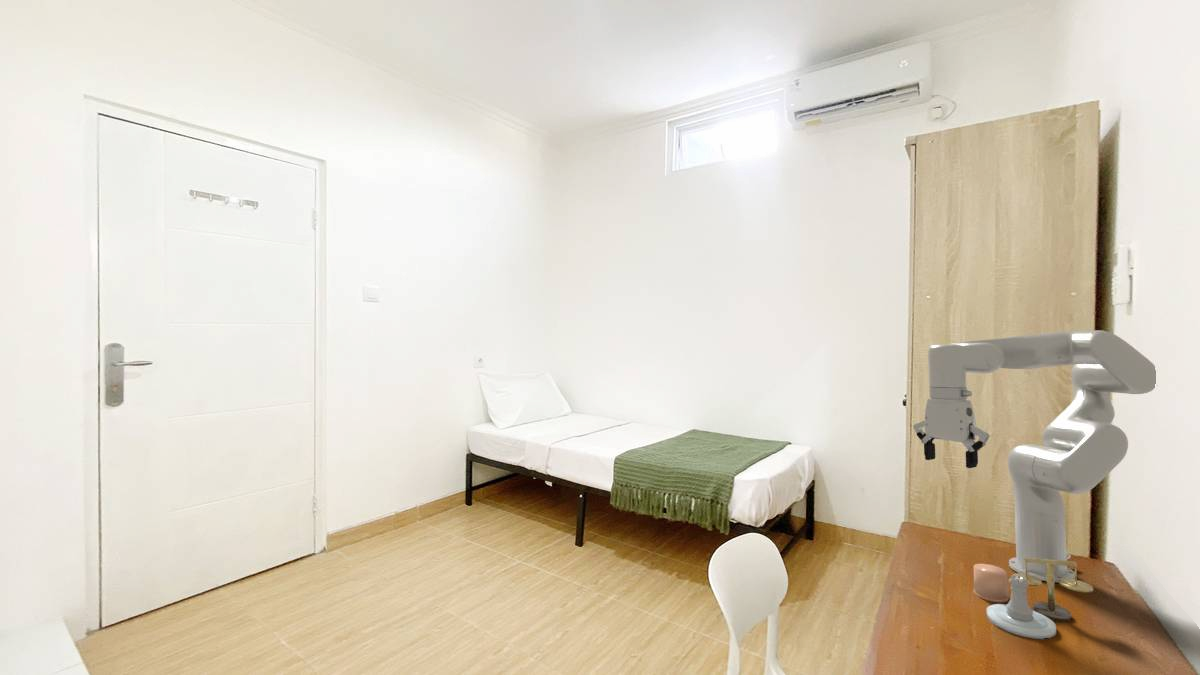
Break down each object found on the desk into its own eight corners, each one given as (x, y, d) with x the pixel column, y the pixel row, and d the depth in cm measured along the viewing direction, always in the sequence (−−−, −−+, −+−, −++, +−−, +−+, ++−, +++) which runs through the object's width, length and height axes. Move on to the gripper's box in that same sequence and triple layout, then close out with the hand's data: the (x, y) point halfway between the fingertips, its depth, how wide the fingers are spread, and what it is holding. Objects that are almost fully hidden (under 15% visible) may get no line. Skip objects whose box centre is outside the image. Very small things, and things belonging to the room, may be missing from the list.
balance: (1021, 596, 115) (1019, 541, 115) (1100, 625, 102) (1098, 564, 103) (1007, 602, 112) (1004, 546, 112) (1086, 633, 100) (1083, 570, 100)
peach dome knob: (983, 586, 120) (982, 561, 120) (1014, 598, 114) (1013, 571, 114) (967, 592, 117) (966, 566, 117) (998, 605, 111) (997, 578, 111)
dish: (1004, 604, 111) (1004, 598, 111) (1067, 629, 101) (1067, 623, 101) (975, 617, 107) (975, 611, 107) (1038, 644, 97) (1038, 637, 97)
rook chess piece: (1039, 623, 102) (1037, 583, 102) (1014, 621, 102) (1012, 581, 103) (1025, 611, 106) (1023, 573, 106) (1001, 610, 107) (999, 572, 107)
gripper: (995, 395, 119) (998, 468, 118) (922, 390, 134) (924, 455, 134) (977, 398, 115) (980, 473, 115) (904, 392, 131) (906, 458, 131)
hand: (950, 463), depth 125 cm, fingers open, 9 cm apart
